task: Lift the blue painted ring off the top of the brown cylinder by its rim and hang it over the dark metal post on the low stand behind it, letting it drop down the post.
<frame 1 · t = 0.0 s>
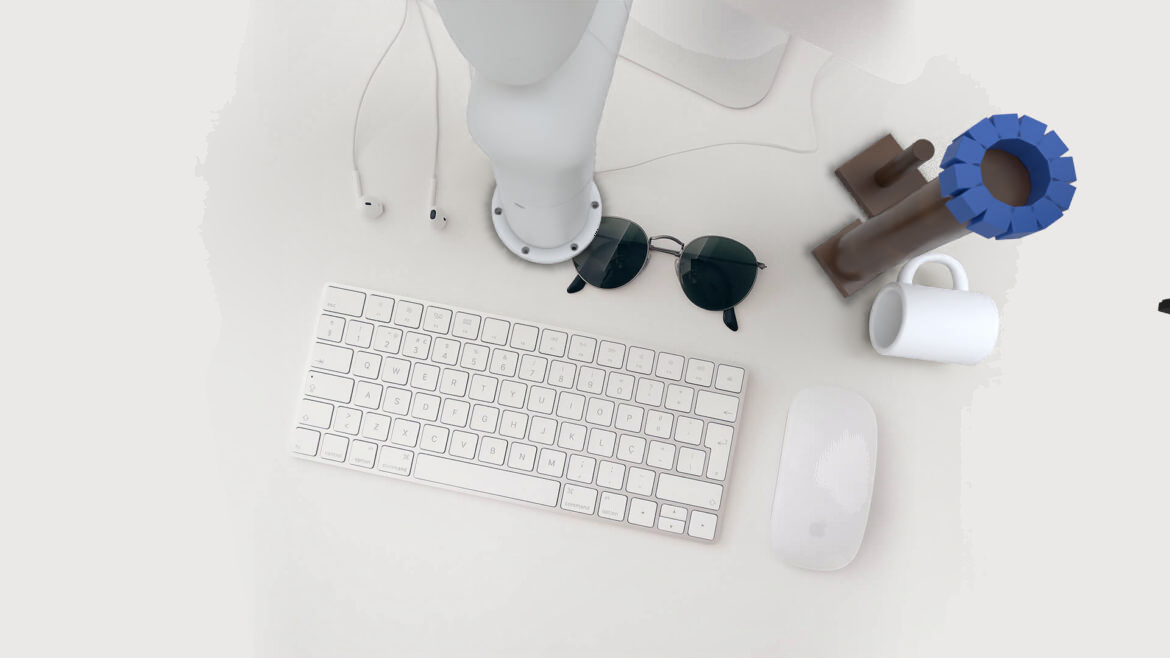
brown cylinder: (849, 259, 73), on the table
post stand: (880, 180, 75), on the table
ring: (997, 181, 48), point 25 cm above the table, touching brown cylinder
mug: (910, 312, 73), on the table
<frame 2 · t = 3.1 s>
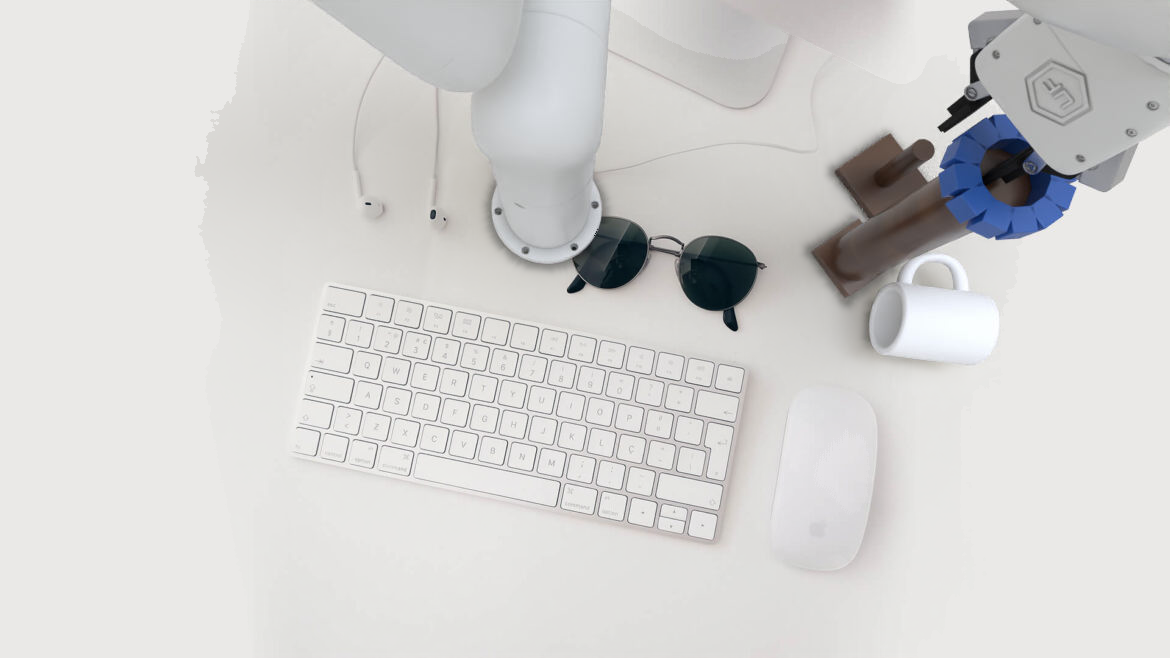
hand: (975, 146, 49), 25 cm above the table, tool pointing down, fingers open, 4 cm apart
nothing on the table moved.
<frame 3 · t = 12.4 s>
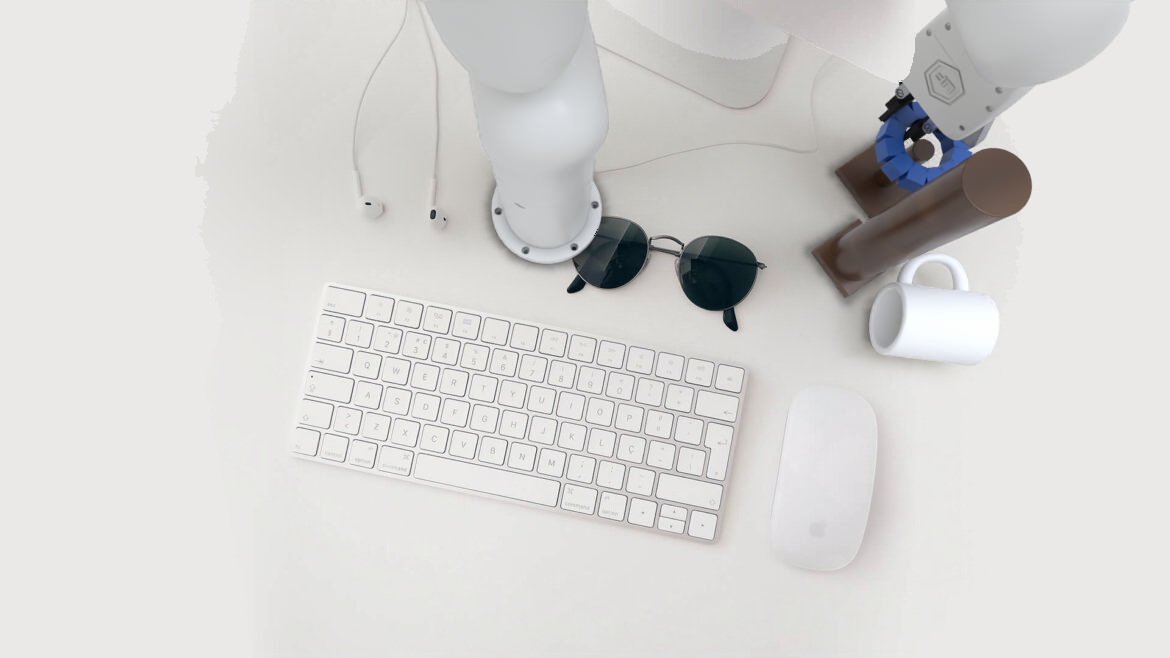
hand: (899, 124, 66), 9 cm above the table, tool pointing down, fingers closed on ring, 2 cm apart
ring: (917, 150, 66), point 8 cm above the table, touching gripper
everything else where it was.
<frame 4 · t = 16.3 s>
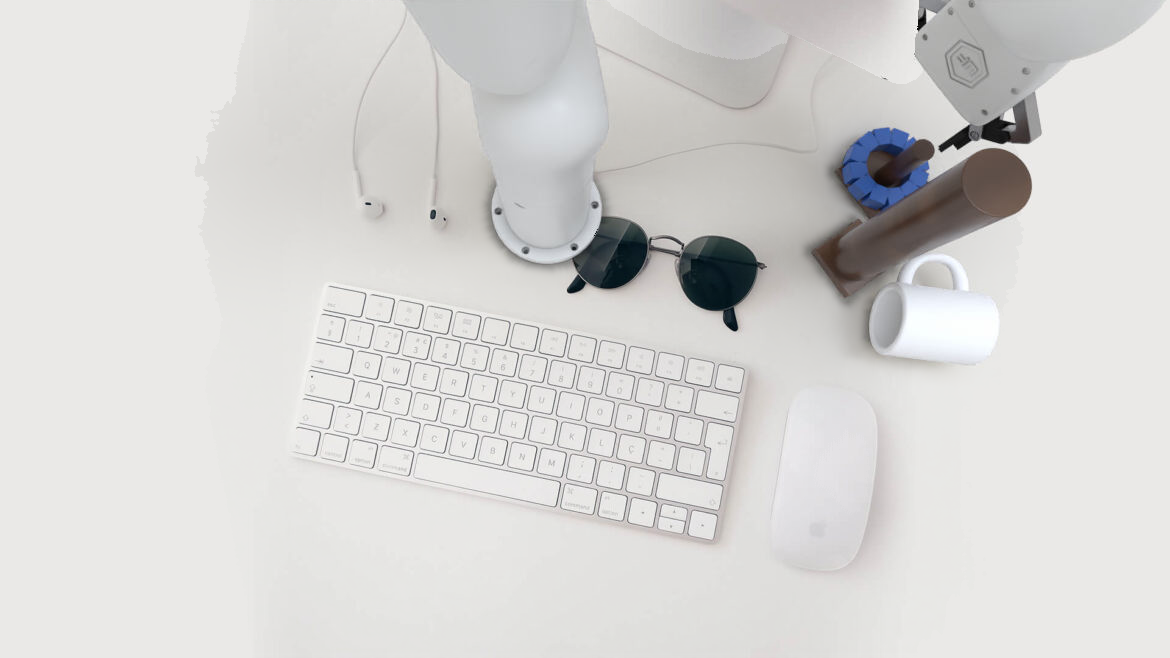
hand: (921, 106, 63), 12 cm above the table, tool pointing down, fingers open, 8 cm apart
ring: (880, 172, 74), point 1 cm above the table, touching post stand
everything else where it was.
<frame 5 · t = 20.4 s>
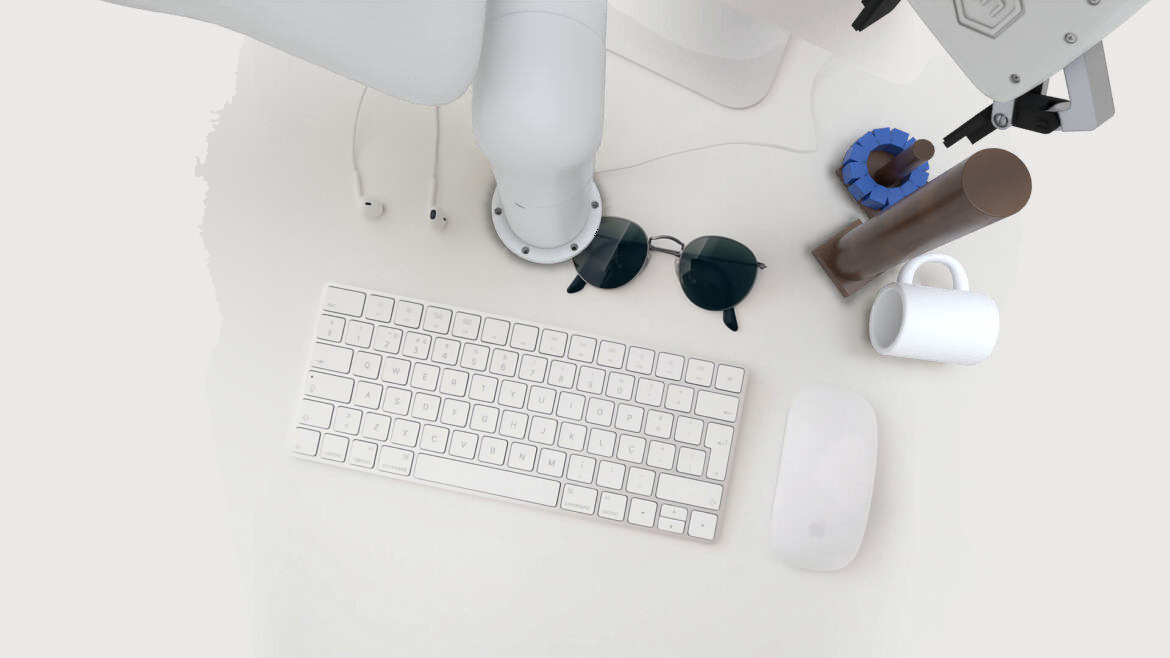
hand: (915, 75, 41), 32 cm above the table, tool pointing down, fingers open, 9 cm apart
nothing on the table moved.
at the end: ring 0.8 cm from the post stand (horizontally); ring point 1.0 cm above the table; the gripper is holding nothing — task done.
